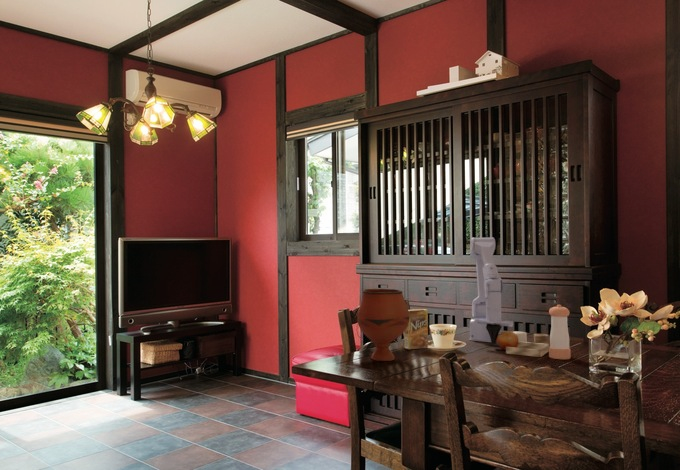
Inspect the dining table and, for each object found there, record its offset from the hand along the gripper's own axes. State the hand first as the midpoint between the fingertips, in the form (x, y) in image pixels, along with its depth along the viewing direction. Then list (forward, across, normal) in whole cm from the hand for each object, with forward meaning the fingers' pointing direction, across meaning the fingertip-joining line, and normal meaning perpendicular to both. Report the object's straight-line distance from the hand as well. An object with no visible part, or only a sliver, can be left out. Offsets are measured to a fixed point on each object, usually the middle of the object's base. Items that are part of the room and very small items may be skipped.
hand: (494, 343), depth 216 cm
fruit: (+2, +5, 0) cm, 6 cm away
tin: (+2, -1, +9) cm, 9 cm away
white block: (+2, +6, +13) cm, 15 cm away
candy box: (+2, -27, -15) cm, 31 cm away
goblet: (+2, -28, -39) cm, 48 cm away
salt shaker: (+2, +25, -4) cm, 26 cm away
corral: (+2, +13, 0) cm, 13 cm away
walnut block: (+2, +15, +12) cm, 20 cm away
